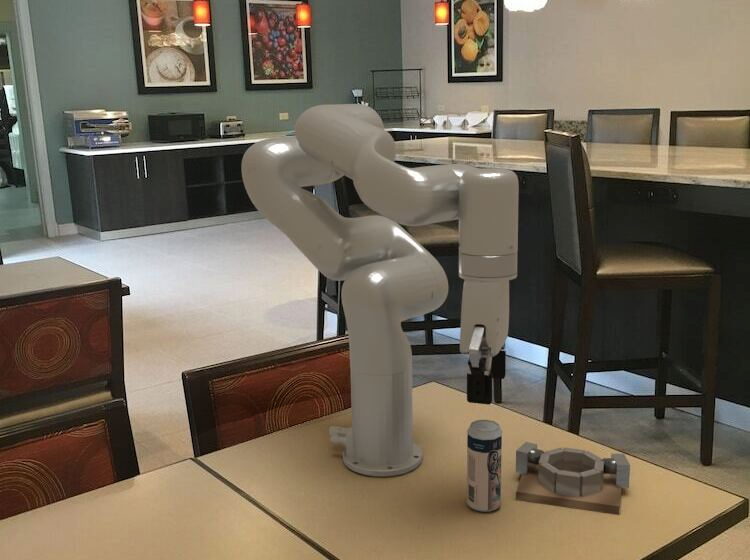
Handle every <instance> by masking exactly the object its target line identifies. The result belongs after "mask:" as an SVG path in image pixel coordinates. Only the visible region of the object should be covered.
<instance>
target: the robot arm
mask: <svg viewBox="0 0 750 560" xmlns="http://www.w3.org/2000/svg"><path fill="white" fill-rule="evenodd" d="M396 147H397V146H396V142H395V140H394V138H393V136H392V135H391V134H390V132H388V131H387V130H385V125H384V123H383V119H382V118H381V116H380V115H379V114H378V112H377V111H376V110H375V109H373V108H372V107H371V106H369V105H366V104H363V103H362V104H361V103H336V104H334V103H333V104H320V105H319V104H318V105H315V106H312V107H309V108H308V109H306V110H304V112H302V113H301V114H300V115H299V117H298V118H297V120H296V122H295V125H294V135H291V136H290V135H289V136H287V135H286V136H275V137H269V138H266V139H262V140H259V141H257V142H255V143H254V144H252V145H251V146H249V147H248V149H247V150H246V151H245V152H244V154H243V157H242V159H241V165H240V166H241V178H242V182H243V185H244V189H245V191H246V194H247V195H248V197H249V199H250V201H251V203H252V204H253V205H254V207H255V208H256V210H257V211H258V212H259V213H260V214H261V215H262V216H263V217H264V218H265V220H267V221H269V223H271V224H272V225H274V227H276V228H277V229H278V230H279V231H280V232H282V233H283V234H284V235H285V236H286V237H287V238H288V239H289V240H290V242H292V244H293V245H294V246H295V248H297V249H298V250H299V252H301V253H302V255H304V257H306V259H307V260H308V261H309V262H310V263H311V264H312V265H313V266H314V267H315V269H317V270H318V271H319V272H320V273H321V274H322V275H323V276H324V277H325V278H327V279H329V280H330V281H336V282H337V281H339V282H341V281H343V284H342V286H341V292H340V293H341V296H340V297H341V305H342V307H343V313H344V317H345V322H346V327H347V334H348V335H347V336H348V345H349V367H350V368H349V369H350V371H349V372H350V400H351V401H350V402H351V403H350V405H351V409H350V410H351V426H349V427H346V428H345V427H342V426H337V425H335V426H333V425H331V426H330V427H329V429H328V436H329V438H330V439H329V441H330V444H332V445H333V444H334V445H343V446H344V450H343V452H342V462H343V464H344V465H345V466H346V467H347V468H348V469H349V470H351V471H353V472H356V474H360V475H364V476H370V477H380V478H381V477H394V476H399V475H403V474H406V473H409V472H411V471H413V470H415V469H416V468H418V467H419V466H420V465H421V463H422V462H423V459H424V456H423V454H424V452H423V449H422V447H420V445H419V444H417V443H416V442H415V441H414V439H413V438H414V437H413V436H414V435H413V434H414V431H413V430H414V429H413V427H414V426H413V420H414V419H413V414H414V412H413V353H412V347H411V344H410V341H409V339H408V338H407V336H406V334H405V332H404V331H403V328H402V322H405V321H407V320H409V319H412V318H416V317H420V316H423V315H427V314H429V313H432V312H434V311H436V310H438V309H439V308H440V307H441V306H442V305H443V304H444V303H445V302H446V300H447V297H448V294H449V282H448V281H449V280H448V277H447V274H446V272H445V270H444V268H443V267H442V265H441V264H440V262H439V261H438V260H437V259H436V258H435V256H433V254H431V252H430V251H428V249H426V248H425V247H424V246H423V245H422V244H421V243H420V242H419V241H417V239H415V238H414V237H413V236H412V235H411V234H410V233H409V232H408V231H407V230H405V229H404V228H403V227H402V225H403V226H408V227H420V226H426V225H430V224H431V225H432V224H436V223H443V222H450V221H455V220H458V277H459V278H460V279H462V280H464V282H463V287H462V295H461V296H462V298H461V309H460V311H461V312H460V328H459V329H460V333H459V352H460V353H461V354H462V355H466V354H467V353H468V355H469V356H468V360H467V368H466V402H468V403H471V404H480V405H488V406H489V405H491V404H492V402H493V379H497V380H503V379H505V377H506V366H507V365H506V363H507V359H506V358H507V351H506V350H505V349H506V341H507V339H508V336H509V323H510V281H512V280H515V279H517V277H518V251H519V248H518V246H519V242H518V241H519V191H520V190H519V188H520V187H519V179H518V178H519V177H518V175H517V174H516V173H515V172H514V171H513V170H511V169H507V168H499V167H498V168H497V167H496V168H494V167H492V168H491V167H489V168H488V167H483V168H479V167H476V166H472V165H469V164H464V163H448V164H438V165H437V164H435V165H429V166H428V165H427V166H420V167H406V166H405V165H402V164H399V163H396V153H397V148H396ZM344 176H345V177H347V178H348V179H351V180H352V181H353V182H352V183H353V186H354V188H355V189H354V190H355V191H356V193H357V194H358V195H357V196H359V199H360V200H361V202H362V203H363V204H364V205H365V206H366V207H368V208H369V209H371V210H372V211H374V212H376V213H377V214H379V215H364V216H359V217H344V216H343V215H341V214H340V213H339V212H337V211H336V210H335V209H334V208H332V206H331V205H330V204H329V203H328V202H327V201H326V200H324V198H322V197H320V196H319V195H317V194H315V193H313V192H311V191H308V190H306V189H305V188H303V187H311V186H321V185H326V184H330V183H333V182H335V181H338V180H339V179H340V178H342V177H344Z"/></svg>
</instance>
